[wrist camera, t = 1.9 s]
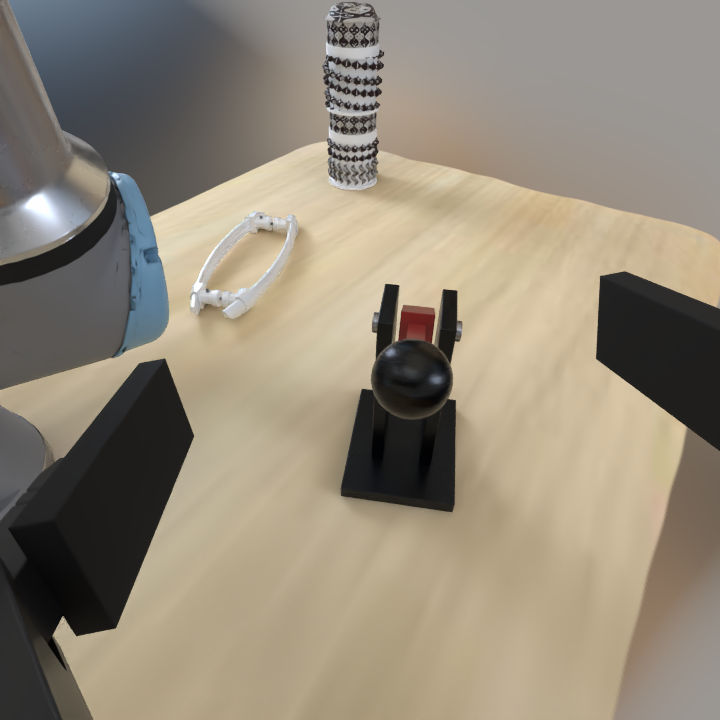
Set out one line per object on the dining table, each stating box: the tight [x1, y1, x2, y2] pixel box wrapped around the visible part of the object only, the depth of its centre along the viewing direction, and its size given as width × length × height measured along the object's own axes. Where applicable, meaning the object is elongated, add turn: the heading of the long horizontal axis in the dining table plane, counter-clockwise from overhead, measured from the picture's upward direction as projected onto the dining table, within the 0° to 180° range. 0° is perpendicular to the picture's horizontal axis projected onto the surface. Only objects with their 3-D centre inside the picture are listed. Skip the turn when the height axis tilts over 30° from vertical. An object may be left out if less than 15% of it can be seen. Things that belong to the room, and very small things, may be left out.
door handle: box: [189, 211, 298, 319], centre depth 62 cm, size 3×10×25 cm
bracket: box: [341, 284, 462, 512], centre depth 37 cm, size 11×9×16 cm
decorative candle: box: [323, 2, 384, 191], centre depth 75 cm, size 9×9×25 cm
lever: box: [371, 305, 453, 420], centre depth 27 cm, size 15×4×4 cm, turn 171°
